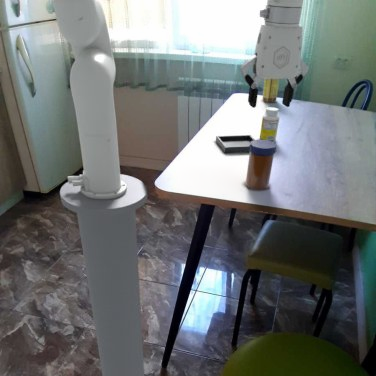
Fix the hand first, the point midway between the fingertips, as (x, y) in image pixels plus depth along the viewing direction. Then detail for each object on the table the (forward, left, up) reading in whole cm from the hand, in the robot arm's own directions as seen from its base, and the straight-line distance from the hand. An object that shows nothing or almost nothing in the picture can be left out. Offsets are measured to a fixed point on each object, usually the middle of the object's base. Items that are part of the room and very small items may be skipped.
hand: (269, 105), depth 101 cm
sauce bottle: (+36, +87, -20) cm, 96 cm away
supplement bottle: (+16, +35, -20) cm, 43 cm away
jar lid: (0, 0, -9) cm, 9 cm away
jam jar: (0, 0, -20) cm, 20 cm away
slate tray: (+4, +31, -20) cm, 37 cm away
